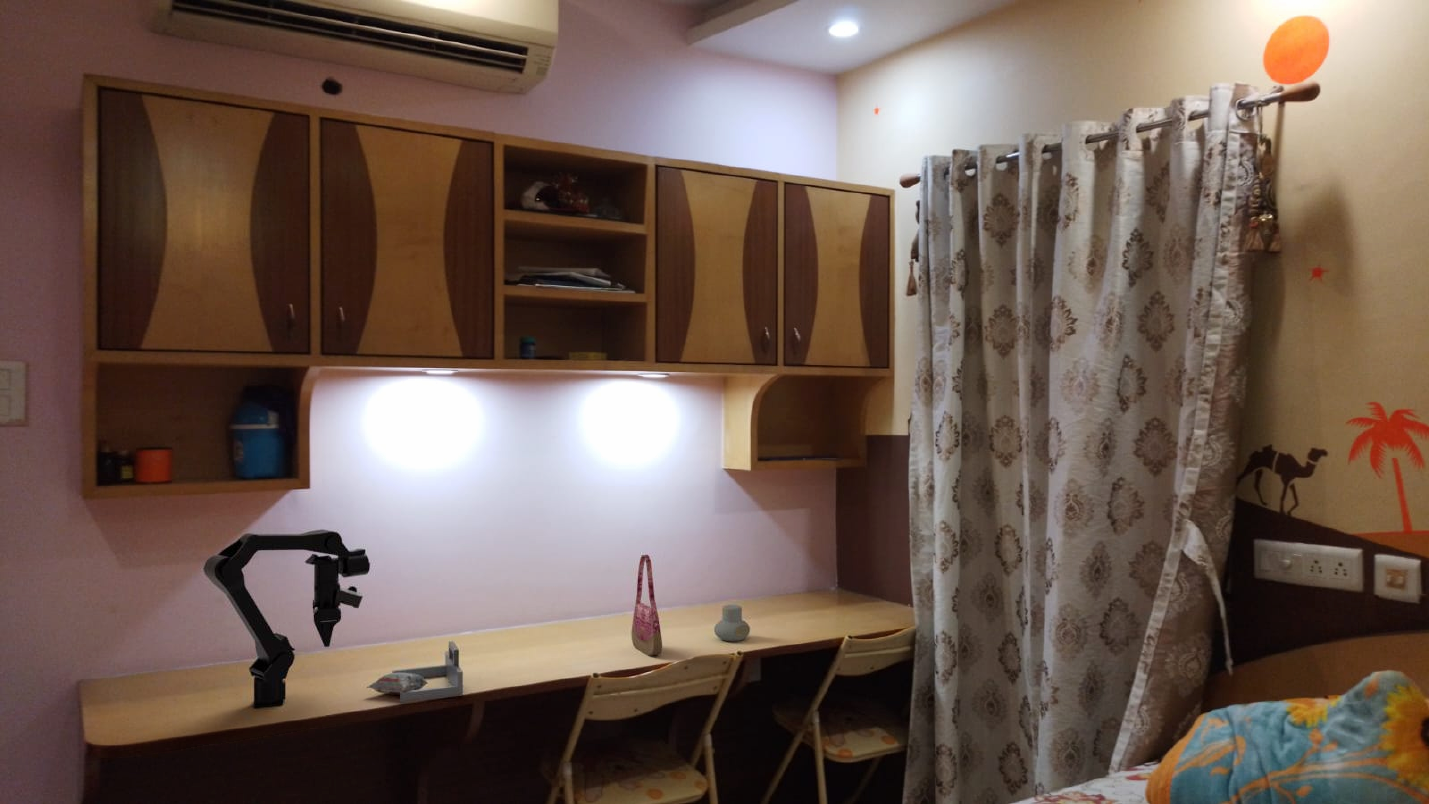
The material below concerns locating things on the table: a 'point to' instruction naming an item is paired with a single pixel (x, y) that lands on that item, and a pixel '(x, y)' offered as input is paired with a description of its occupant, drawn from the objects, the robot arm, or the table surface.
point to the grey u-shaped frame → (448, 669)
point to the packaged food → (398, 683)
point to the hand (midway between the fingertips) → (326, 642)
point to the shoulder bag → (646, 616)
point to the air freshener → (732, 624)
